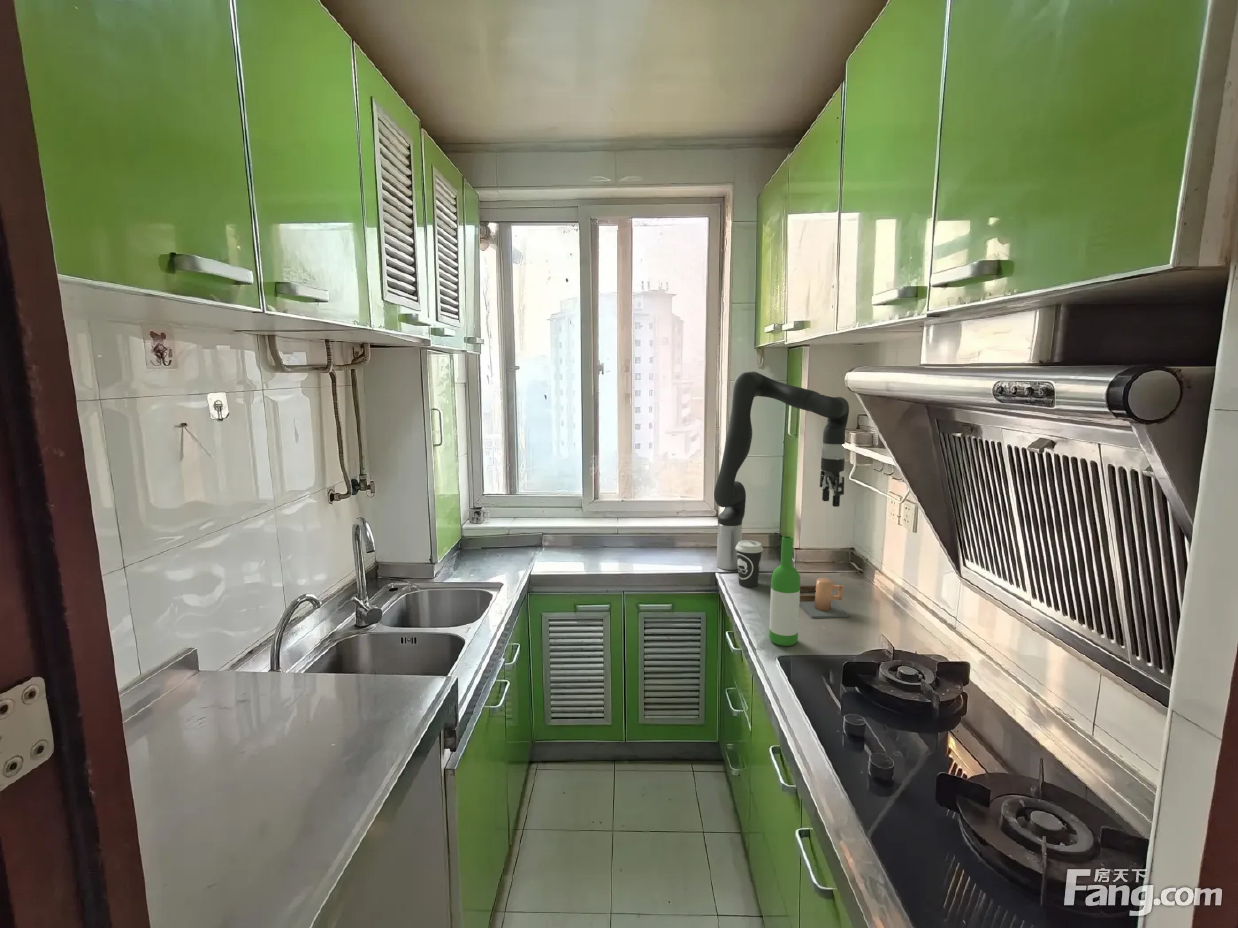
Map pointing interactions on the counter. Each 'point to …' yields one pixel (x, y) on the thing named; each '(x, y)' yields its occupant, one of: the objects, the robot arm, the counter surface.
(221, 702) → the counter surface
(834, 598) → the orange mug
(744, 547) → the coffee cup
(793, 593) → the wine bottle
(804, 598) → the holder
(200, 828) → the counter surface
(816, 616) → the mat
